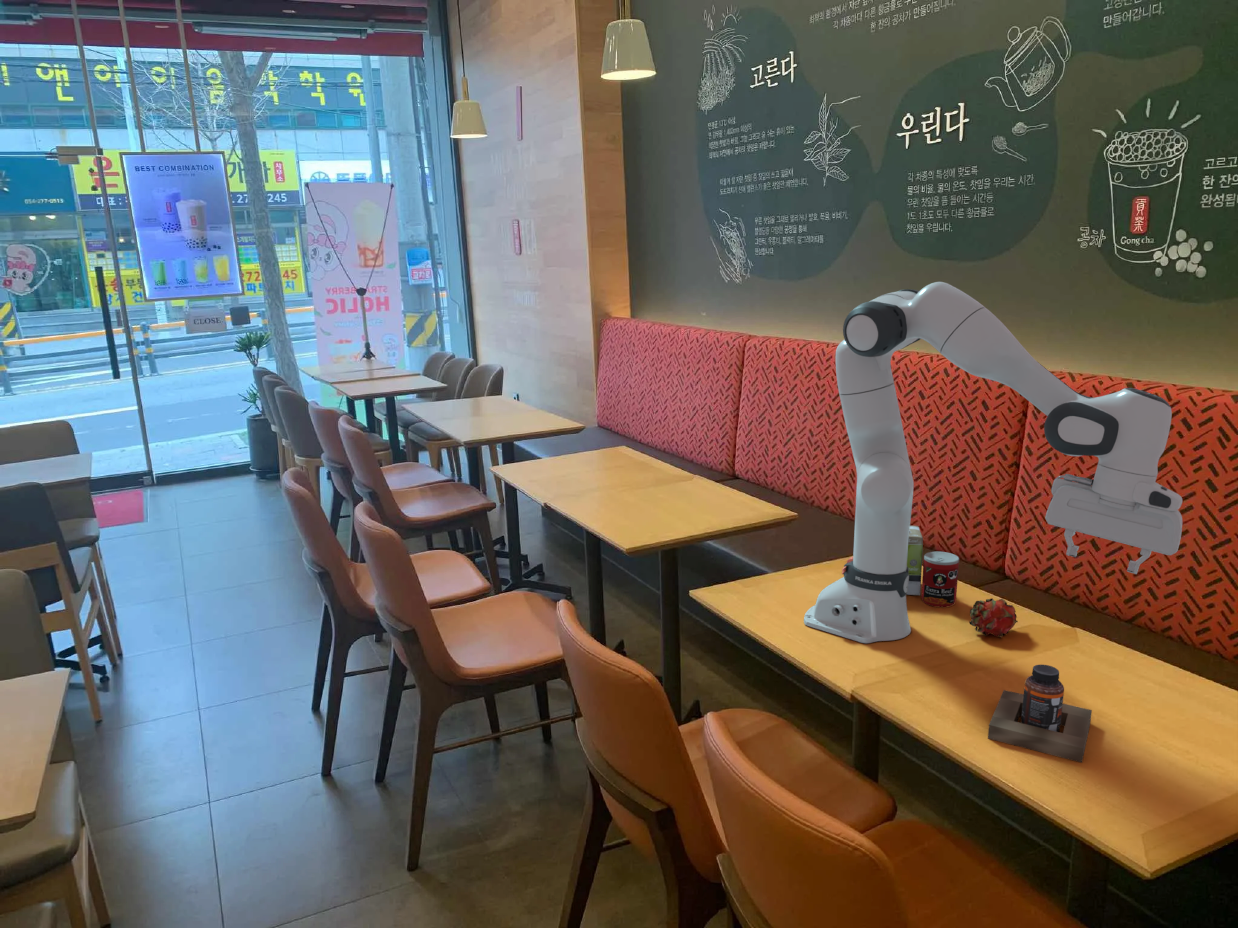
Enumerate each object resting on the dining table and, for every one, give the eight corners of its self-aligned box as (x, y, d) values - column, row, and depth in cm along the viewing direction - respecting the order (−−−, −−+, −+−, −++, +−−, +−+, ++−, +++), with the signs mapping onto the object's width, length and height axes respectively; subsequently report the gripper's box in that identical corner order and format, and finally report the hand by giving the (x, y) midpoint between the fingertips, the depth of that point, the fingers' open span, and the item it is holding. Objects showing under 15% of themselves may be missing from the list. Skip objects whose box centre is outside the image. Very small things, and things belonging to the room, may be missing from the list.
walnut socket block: (987, 738, 146) (988, 724, 145) (1002, 702, 157) (1003, 689, 156) (1081, 762, 138) (1083, 748, 138) (1090, 723, 150) (1091, 709, 149)
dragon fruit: (965, 644, 184) (1006, 641, 189) (995, 633, 177) (1037, 631, 182) (953, 604, 188) (994, 603, 193) (982, 593, 181) (1024, 592, 186)
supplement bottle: (1063, 741, 144) (1070, 678, 142) (1025, 738, 145) (1031, 676, 143) (1053, 723, 150) (1060, 662, 147) (1016, 720, 151) (1022, 659, 148)
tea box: (916, 582, 216) (920, 524, 212) (920, 597, 206) (924, 537, 203) (853, 578, 219) (856, 521, 216) (854, 592, 209) (857, 533, 206)
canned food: (920, 605, 201) (923, 560, 199) (921, 593, 208) (924, 549, 206) (955, 609, 198) (959, 564, 196) (956, 597, 205) (959, 553, 203)
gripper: (1052, 472, 150) (1032, 549, 153) (1190, 504, 139) (1166, 585, 141) (1059, 469, 155) (1040, 543, 158) (1192, 499, 144) (1169, 578, 146)
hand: (1101, 563), depth 150 cm, fingers open, 8 cm apart
